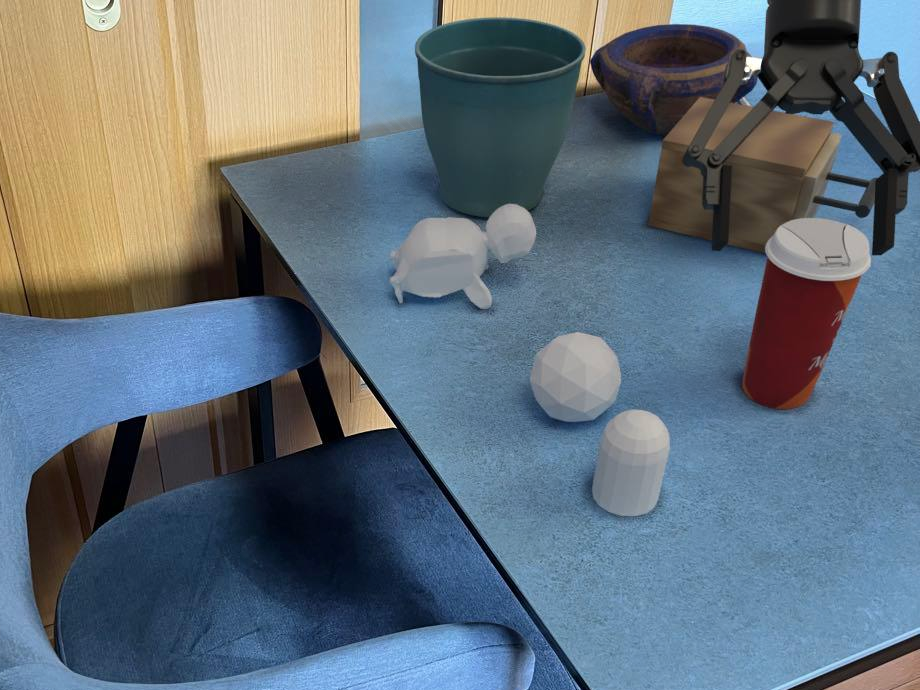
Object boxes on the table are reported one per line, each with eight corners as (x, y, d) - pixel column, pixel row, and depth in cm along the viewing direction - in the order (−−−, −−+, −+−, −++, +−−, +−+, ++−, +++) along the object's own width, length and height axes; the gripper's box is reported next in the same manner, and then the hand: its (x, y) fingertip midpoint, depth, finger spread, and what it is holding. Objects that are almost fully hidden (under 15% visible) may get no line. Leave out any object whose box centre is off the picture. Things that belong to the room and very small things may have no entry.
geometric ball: (582, 448, 92) (603, 426, 84) (506, 402, 93) (520, 375, 85) (625, 379, 93) (650, 351, 85) (550, 333, 94) (567, 301, 86)
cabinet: (809, 206, 118) (834, 121, 111) (780, 257, 110) (805, 169, 103) (683, 179, 123) (700, 96, 116) (647, 225, 115) (662, 139, 109)
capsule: (672, 501, 83) (691, 423, 78) (620, 525, 81) (636, 447, 76) (628, 464, 87) (644, 387, 81) (578, 486, 85) (590, 409, 79)
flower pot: (440, 153, 129) (443, 8, 118) (582, 172, 125) (600, 23, 113) (393, 220, 117) (392, 66, 105) (549, 243, 113) (565, 85, 101)
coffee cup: (835, 416, 91) (892, 263, 80) (742, 418, 91) (785, 265, 80) (807, 361, 97) (855, 211, 86) (719, 363, 97) (757, 214, 86)
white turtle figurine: (411, 335, 106) (552, 287, 102) (379, 267, 101) (527, 213, 96) (410, 291, 112) (544, 244, 108) (380, 224, 107) (520, 172, 102)
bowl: (574, 101, 140) (583, 23, 133) (700, 89, 142) (715, 12, 135) (620, 158, 128) (632, 75, 121) (756, 144, 130) (776, 61, 123)
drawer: (874, 214, 114) (897, 145, 109) (851, 262, 107) (875, 190, 102) (703, 178, 121) (717, 110, 116) (671, 220, 114) (685, 151, 109)
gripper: (943, 24, 91) (931, 264, 91) (656, 21, 93) (644, 256, 93) (987, -22, 83) (974, 239, 83) (674, -25, 85) (661, 231, 85)
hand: (800, 249), depth 88 cm, fingers open, 13 cm apart
